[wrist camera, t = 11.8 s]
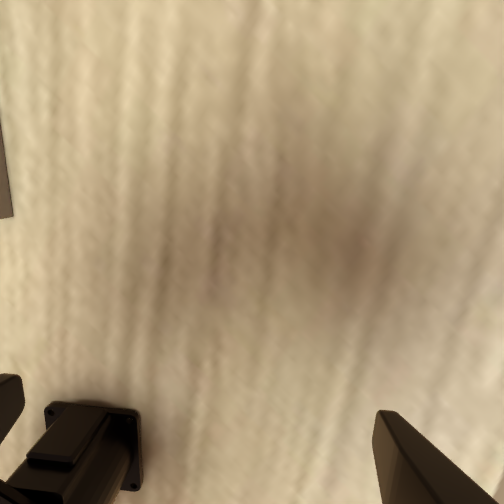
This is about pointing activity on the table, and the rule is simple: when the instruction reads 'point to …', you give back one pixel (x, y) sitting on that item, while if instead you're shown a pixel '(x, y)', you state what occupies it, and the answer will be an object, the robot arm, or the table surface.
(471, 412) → the table surface
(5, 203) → the dock
